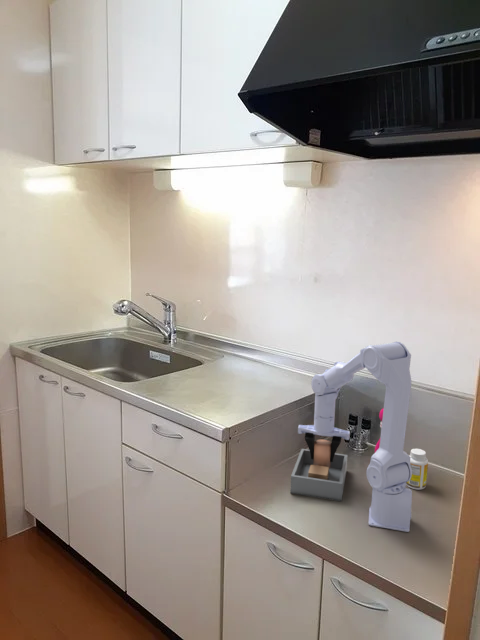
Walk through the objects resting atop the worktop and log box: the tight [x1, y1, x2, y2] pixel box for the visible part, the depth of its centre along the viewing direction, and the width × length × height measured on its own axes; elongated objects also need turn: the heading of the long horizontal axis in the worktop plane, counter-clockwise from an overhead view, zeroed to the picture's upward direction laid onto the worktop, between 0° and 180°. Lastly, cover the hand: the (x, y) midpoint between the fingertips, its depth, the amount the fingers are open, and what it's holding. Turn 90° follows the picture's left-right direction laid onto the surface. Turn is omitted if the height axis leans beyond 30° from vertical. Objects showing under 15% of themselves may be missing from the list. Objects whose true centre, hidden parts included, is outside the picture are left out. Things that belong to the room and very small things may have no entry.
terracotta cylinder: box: [313, 439, 332, 468], centre depth 145 cm, size 5×5×7 cm
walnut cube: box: [308, 465, 329, 480], centre depth 138 cm, size 5×5×5 cm
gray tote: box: [289, 448, 348, 502], centre depth 142 cm, size 14×18×5 cm
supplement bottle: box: [406, 448, 429, 491], centre depth 140 cm, size 6×6×10 cm
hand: (322, 459), depth 145 cm, fingers closed on terracotta cylinder, 5 cm apart
